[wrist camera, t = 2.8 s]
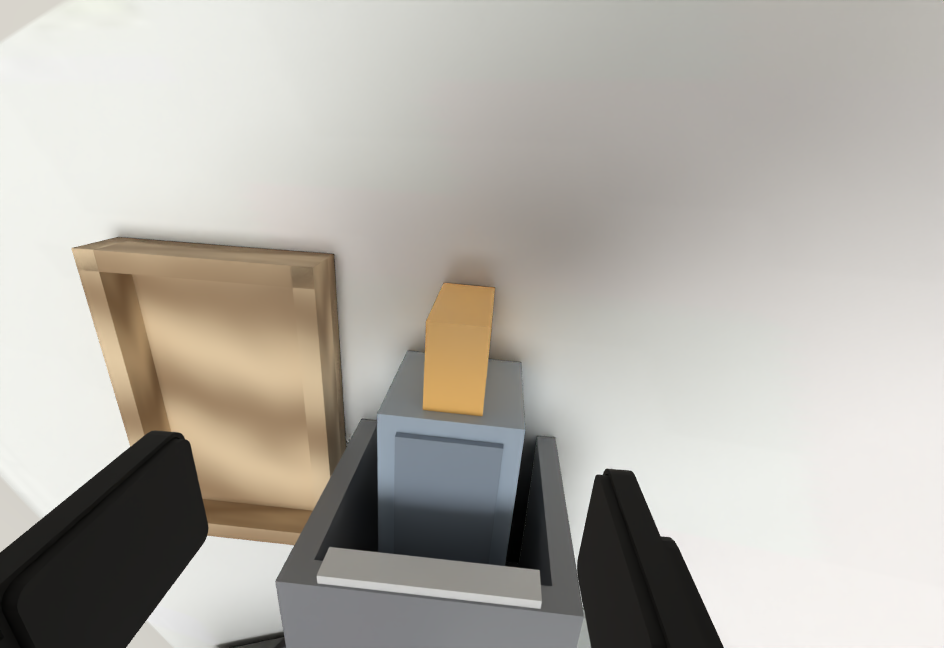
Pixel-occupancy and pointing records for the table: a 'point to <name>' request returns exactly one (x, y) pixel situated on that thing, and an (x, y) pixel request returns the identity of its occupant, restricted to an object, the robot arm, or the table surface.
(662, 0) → the table surface
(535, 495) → the box
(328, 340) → the tray
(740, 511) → the table surface
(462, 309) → the blue orange-capped square bottle
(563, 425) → the table surface
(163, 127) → the table surface
